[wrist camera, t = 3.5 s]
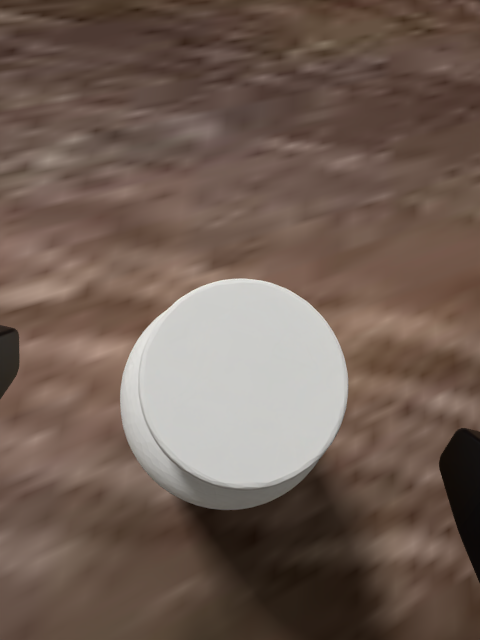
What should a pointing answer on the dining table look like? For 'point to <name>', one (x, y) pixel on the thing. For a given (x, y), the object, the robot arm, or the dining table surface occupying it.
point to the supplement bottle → (233, 394)
